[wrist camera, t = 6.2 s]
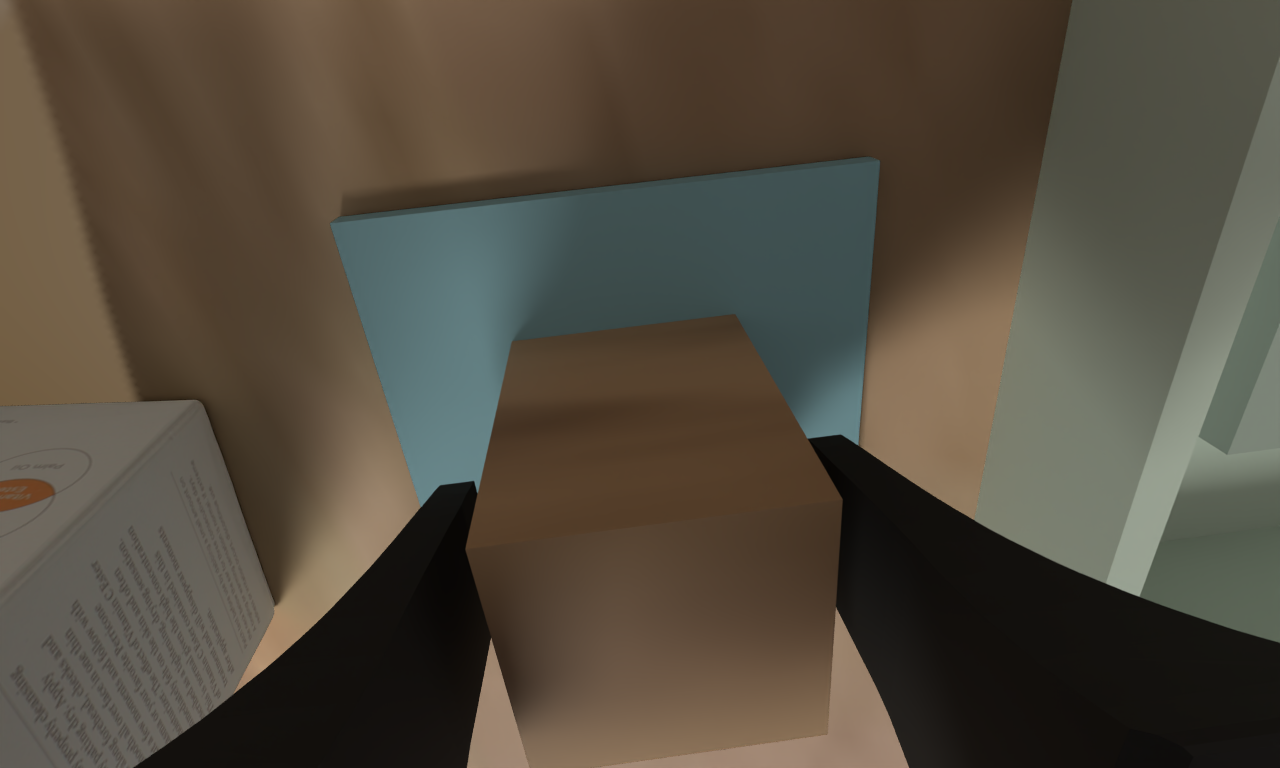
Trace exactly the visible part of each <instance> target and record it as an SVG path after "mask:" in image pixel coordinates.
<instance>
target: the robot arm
mask: <svg viewBox="0 0 1280 768" xmlns="http://www.w3.org/2000/svg"><path fill="white" fill-rule="evenodd" d="M808 440H809V442H810V444H811V446H812V447H813V449H814V451H815V453H816V454H817V456H818V458H819V459H820V461H821V463H822V465H823V466H824V468H825V470H826V472H827V473H828V475H829V477H830V478H831V480H832V482H833V484H834V485H835V487H836V489H837V491H838V492H839V494H840V496H841V497H842V499H843V503H842V518H841V533H840V549H839V564H838V580H837V595H836V608H837V610H838V612H839V614H840V616H841V618H842V620H843V622H844V624H845V626H846V628H847V630H848V632H849V634H850V636H851V638H852V640H853V642H854V644H855V646H856V648H857V650H858V652H859V654H860V656H861V658H862V660H863V662H864V664H865V666H866V667H867V669H868V671H869V673H870V675H871V677H872V679H873V681H874V683H875V685H876V687H877V690H878V692H879V694H880V696H881V698H882V701H883V703H884V705H885V707H886V709H887V712H888V714H889V716H890V719H891V722H892V724H893V727H894V729H895V732H896V735H897V737H898V740H899V742H900V745H901V748H902V750H903V753H904V755H905V758H906V760H907V763H908V766H909V768H1280V643H1279V642H1276V641H1272V640H1269V639H1265V638H1262V637H1258V636H1255V635H1251V634H1248V633H1244V632H1241V631H1237V630H1234V629H1231V628H1228V627H1225V626H1222V625H1219V624H1216V623H1213V622H1210V621H1207V620H1204V619H1201V618H1198V617H1195V616H1192V615H1189V614H1186V613H1183V612H1180V611H1177V610H1174V609H1171V608H1168V607H1166V606H1163V605H1160V604H1158V603H1155V602H1152V601H1149V600H1147V599H1144V598H1141V597H1139V596H1136V595H1133V594H1131V593H1128V592H1126V591H1123V590H1121V589H1118V588H1116V587H1113V586H1111V585H1108V584H1106V583H1104V582H1101V581H1099V580H1096V579H1094V578H1091V577H1089V576H1086V575H1084V574H1082V573H1079V572H1077V571H1075V570H1072V569H1070V568H1068V567H1066V566H1063V565H1061V564H1059V563H1057V562H1054V561H1052V560H1050V559H1048V558H1046V557H1044V556H1042V555H1040V554H1038V553H1036V552H1034V551H1032V550H1030V549H1028V548H1026V547H1024V546H1022V545H1019V544H1017V543H1015V542H1013V541H1011V540H1009V539H1007V538H1005V537H1004V536H1002V535H1000V534H998V533H996V532H994V531H992V530H990V529H989V528H987V527H985V526H983V525H982V524H980V523H978V522H976V521H975V520H973V519H971V518H969V517H968V516H966V515H964V514H962V513H961V512H959V511H957V510H956V509H954V508H952V507H951V506H949V505H947V504H946V503H944V502H942V501H941V500H939V499H937V498H936V497H934V496H933V495H931V494H930V493H928V492H926V491H925V490H923V489H922V488H920V487H919V486H917V485H916V484H914V483H913V482H911V481H910V480H908V479H907V478H905V477H904V476H902V475H901V474H899V473H898V472H896V471H895V470H893V469H892V468H890V467H889V466H887V465H886V464H884V463H883V462H881V461H880V460H879V459H877V458H876V457H874V456H873V455H871V454H870V453H868V452H867V451H865V450H864V449H863V448H861V447H860V446H858V445H857V444H855V443H854V442H852V441H851V440H849V439H848V438H846V437H844V436H843V435H841V434H840V435H832V436H824V437H816V438H808ZM477 495H478V493H477V490H476V486H475V482H474V481H469V482H461V483H453V484H445V485H439V487H438V488H437V489H436V490H435V491H434V492H433V494H432V495H431V496H430V497H429V498H428V500H427V501H426V502H425V503H424V504H423V505H422V507H421V508H420V509H419V510H418V512H417V513H416V514H415V515H414V516H413V518H412V519H411V520H410V521H409V522H408V524H407V525H406V526H405V527H404V528H403V530H402V531H401V532H400V533H399V534H398V536H397V537H396V538H395V539H394V540H393V542H392V543H391V544H390V545H389V546H388V547H387V549H386V550H385V551H384V552H383V553H382V554H381V555H380V557H379V558H378V559H377V560H376V561H375V562H374V564H373V565H372V566H371V567H370V568H369V569H368V570H367V571H366V572H365V573H364V574H363V576H362V577H361V578H360V579H359V580H358V581H357V582H356V583H355V584H354V585H353V586H352V587H351V588H350V589H349V590H348V591H347V592H346V594H345V595H344V596H343V597H342V598H341V599H340V600H339V601H338V602H337V603H336V604H335V605H334V606H333V607H332V608H331V609H330V610H329V611H328V612H327V613H326V614H325V615H324V616H323V617H322V618H321V619H320V620H319V621H318V622H317V623H316V624H315V625H314V626H313V627H312V628H311V629H310V630H309V631H307V632H306V633H305V634H304V635H303V636H302V637H301V638H300V639H299V640H298V641H296V642H295V643H294V644H293V645H292V646H291V647H290V648H289V649H288V650H286V651H285V652H284V653H283V654H282V655H281V656H280V657H279V658H277V659H276V660H275V661H274V662H273V663H272V664H270V665H269V666H268V667H267V668H266V669H264V670H263V671H262V672H261V673H259V674H258V675H257V676H256V677H254V678H253V679H252V680H251V681H249V682H248V683H247V684H246V685H244V686H243V687H242V688H241V689H239V690H238V691H237V692H236V693H234V694H233V695H232V696H231V697H229V698H228V699H227V700H226V701H224V702H223V703H222V704H220V705H219V706H218V707H217V708H215V709H214V710H213V711H212V712H210V713H209V714H208V715H207V716H205V717H204V718H203V719H201V720H200V721H198V722H197V723H196V724H194V725H193V726H192V727H190V728H189V729H187V730H186V731H185V732H183V733H182V734H181V735H179V736H178V737H176V738H175V739H174V740H172V741H171V742H169V743H168V744H167V745H165V746H164V747H162V748H161V749H159V750H158V751H157V752H155V753H154V754H152V755H151V756H149V757H148V758H146V759H145V760H143V761H142V762H140V763H139V764H138V765H136V766H135V767H133V768H467V763H468V756H469V750H470V743H471V738H472V733H473V728H474V723H475V718H476V713H477V707H478V702H479V697H480V692H481V687H482V682H483V677H484V671H485V666H486V661H487V656H488V650H489V645H490V640H491V635H490V631H489V628H488V625H487V621H486V618H485V614H484V611H483V608H482V604H481V601H480V597H479V594H478V591H477V587H476V584H475V580H474V577H473V574H472V570H471V567H470V563H469V560H468V557H467V553H466V550H465V548H466V544H467V539H468V535H469V530H470V526H471V521H472V517H473V512H474V508H475V504H476V499H477Z"/></svg>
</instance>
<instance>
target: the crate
mask: <svg viewBox="0 0 1280 768" xmlns="http://www.w3.org/2000/svg"><path fill="white" fill-rule="evenodd" d="M975 521H976V522H978V523H980V524H982V525H983V526H985V527H987V528H989V529H990V530H992V531H994V532H996V533H998V534H1000V535H1002V536H1004V537H1005V538H1007V539H1009V540H1011V541H1013V542H1015V543H1017V544H1019V545H1022V546H1024V547H1026V548H1028V549H1030V550H1032V551H1034V552H1036V553H1038V554H1040V555H1042V556H1044V557H1046V558H1048V559H1050V560H1052V561H1054V562H1057V563H1059V564H1061V565H1063V566H1066V567H1068V568H1070V569H1072V570H1075V571H1077V572H1079V573H1082V574H1084V575H1086V576H1089V577H1091V578H1094V579H1096V580H1099V581H1101V582H1104V583H1106V584H1108V585H1111V586H1113V587H1116V588H1118V589H1121V590H1123V591H1126V592H1128V593H1131V594H1133V595H1136V596H1139V597H1141V598H1144V599H1147V600H1149V601H1152V602H1155V603H1158V604H1160V605H1163V606H1166V607H1168V608H1171V609H1174V610H1177V611H1180V612H1183V613H1186V614H1189V615H1192V616H1195V617H1198V618H1201V619H1204V620H1207V621H1210V622H1213V623H1216V624H1219V625H1222V626H1225V627H1228V628H1231V629H1234V630H1237V631H1241V632H1244V633H1248V634H1251V635H1255V636H1258V637H1262V638H1265V639H1269V640H1272V641H1276V642H1279V643H1280V0H1072V5H1071V11H1070V16H1069V21H1068V27H1067V32H1066V37H1065V43H1064V48H1063V53H1062V58H1061V64H1060V69H1059V74H1058V80H1057V85H1056V90H1055V96H1054V101H1053V106H1052V111H1051V117H1050V122H1049V127H1048V133H1047V138H1046V143H1045V149H1044V154H1043V159H1042V164H1041V170H1040V175H1039V180H1038V186H1037V191H1036V196H1035V202H1034V207H1033V212H1032V217H1031V223H1030V228H1029V233H1028V239H1027V244H1026V249H1025V255H1024V260H1023V265H1022V270H1021V276H1020V281H1019V286H1018V292H1017V297H1016V302H1015V308H1014V313H1013V318H1012V323H1011V329H1010V334H1009V339H1008V345H1007V350H1006V355H1005V361H1004V366H1003V371H1002V376H1001V382H1000V387H999V392H998V398H997V403H996V408H995V414H994V419H993V424H992V429H991V435H990V440H989V445H988V451H987V456H986V461H985V467H984V472H983V477H982V482H981V488H980V493H979V498H978V504H977V509H976V514H975Z"/></svg>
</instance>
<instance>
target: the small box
mask: <svg viewBox="0 0 1280 768" xmlns="http://www.w3.org/2000/svg"><path fill="white" fill-rule="evenodd" d="M274 605H275V603H274V600H273V598H272V595H271V593H270V590H269V587H268V584H267V582H266V579H265V576H264V573H263V571H262V568H261V565H260V562H259V559H258V556H257V553H256V551H255V548H254V545H253V542H252V540H251V537H250V534H249V531H248V529H247V526H246V523H245V520H244V517H243V514H242V511H241V508H240V506H239V503H238V500H237V497H236V494H235V491H234V487H233V484H232V481H231V479H230V476H229V473H228V471H227V468H226V465H225V462H224V459H223V456H222V454H221V451H220V448H219V445H218V443H217V441H216V438H215V435H214V432H213V430H212V427H211V424H210V421H209V418H208V416H207V413H206V411H205V408H204V406H203V404H202V403H201V402H200V401H198V400H176V401H147V402H113V403H81V404H55V405H54V404H53V405H26V406H25V405H24V406H0V768H133V767H135V766H136V765H138V764H139V763H140V762H142V761H143V760H145V759H146V758H148V757H149V756H151V755H152V754H154V753H155V752H157V751H158V750H159V749H161V748H162V747H164V746H165V745H167V744H168V743H169V742H171V741H172V740H174V739H175V738H176V737H178V736H179V735H181V734H182V733H183V732H185V731H186V730H187V729H189V728H190V727H192V726H193V725H194V724H196V723H197V722H198V721H200V720H201V719H203V718H204V717H205V716H207V715H208V714H209V713H210V712H212V711H213V710H214V709H215V708H217V707H218V706H219V705H220V704H222V703H223V702H224V701H226V700H227V699H228V698H229V697H231V696H232V695H233V693H234V691H235V690H236V688H237V686H238V684H239V682H240V680H241V678H242V676H243V674H244V672H245V670H246V668H247V666H248V664H249V663H250V661H251V659H252V657H253V655H254V653H255V651H256V649H257V647H258V645H259V644H260V642H261V640H262V638H263V636H264V634H265V632H266V630H267V628H268V626H269V624H270V622H271V620H272V618H273V615H274Z"/></svg>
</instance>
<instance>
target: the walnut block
mask: <svg viewBox="0 0 1280 768" xmlns="http://www.w3.org/2000/svg"><path fill="white" fill-rule="evenodd" d="M842 503H843V499H842V497H841V496H840V494H839V492H838V491H837V489H836V487H835V485H834V484H833V482H832V480H831V478H830V477H829V475H828V473H827V472H826V470H825V468H824V466H823V465H822V463H821V461H820V459H819V458H818V456H817V454H816V453H815V451H814V449H813V447H812V446H811V444H810V442H809V440H808V439H807V437H806V435H805V434H804V432H803V430H802V428H801V427H800V425H799V423H798V422H797V420H796V418H795V416H794V415H793V413H792V411H791V409H790V408H789V406H788V404H787V403H786V401H785V399H784V397H783V396H782V394H781V392H780V390H779V389H778V387H777V385H776V384H775V382H774V380H773V378H772V377H771V375H770V373H769V371H768V370H767V368H766V366H765V365H764V363H763V361H762V359H761V358H760V356H759V354H758V352H757V351H756V349H755V347H754V346H753V344H752V342H751V340H750V339H749V337H748V335H747V333H746V332H745V330H744V328H743V327H742V325H741V323H740V321H739V320H738V318H737V316H736V314H731V315H723V316H715V317H707V318H698V319H690V320H682V321H674V322H666V323H658V324H649V325H641V326H633V327H625V328H617V329H609V330H600V331H592V332H584V333H576V334H568V335H560V336H551V337H543V338H535V339H527V340H519V341H512V343H511V347H510V352H509V356H508V361H507V365H506V370H505V374H504V378H503V383H502V387H501V392H500V396H499V401H498V405H497V410H496V414H495V419H494V423H493V428H492V432H491V437H490V441H489V445H488V450H487V454H486V459H485V463H484V468H483V472H482V477H481V481H480V486H479V490H478V495H477V499H476V504H475V508H474V512H473V517H472V521H471V526H470V530H469V535H468V539H467V544H466V548H465V550H466V553H467V557H468V560H469V563H470V567H471V570H472V574H473V577H474V580H475V584H476V587H477V591H478V594H479V597H480V601H481V604H482V608H483V611H484V614H485V618H486V621H487V625H488V628H489V631H490V635H491V638H492V642H493V645H494V648H495V652H496V655H497V659H498V662H499V665H500V669H501V672H502V676H503V679H504V682H505V686H506V689H507V693H508V696H509V699H510V703H511V706H512V710H513V713H514V716H515V720H516V723H517V726H518V730H519V733H520V737H521V740H522V743H523V747H524V750H525V754H526V757H527V760H528V764H529V767H530V768H595V767H602V766H609V765H616V764H623V763H630V762H638V761H645V760H652V759H659V758H666V757H673V756H680V755H687V754H694V753H701V752H708V751H715V750H722V749H729V748H736V747H743V746H750V745H757V744H764V743H771V742H778V741H785V740H792V739H799V738H807V737H814V736H821V735H827V734H828V719H829V703H830V688H831V672H832V657H833V642H834V626H835V611H836V595H837V580H838V564H839V549H840V533H841V518H842Z"/></svg>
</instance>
